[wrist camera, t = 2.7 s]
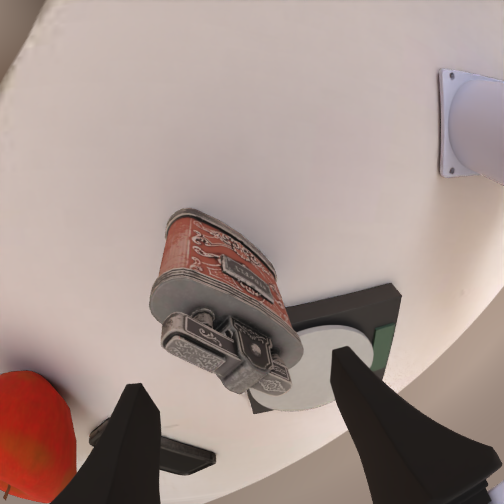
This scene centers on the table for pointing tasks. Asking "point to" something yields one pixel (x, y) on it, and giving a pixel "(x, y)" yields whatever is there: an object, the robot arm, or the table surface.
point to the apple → (34, 438)
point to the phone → (173, 455)
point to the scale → (335, 344)
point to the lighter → (223, 306)
